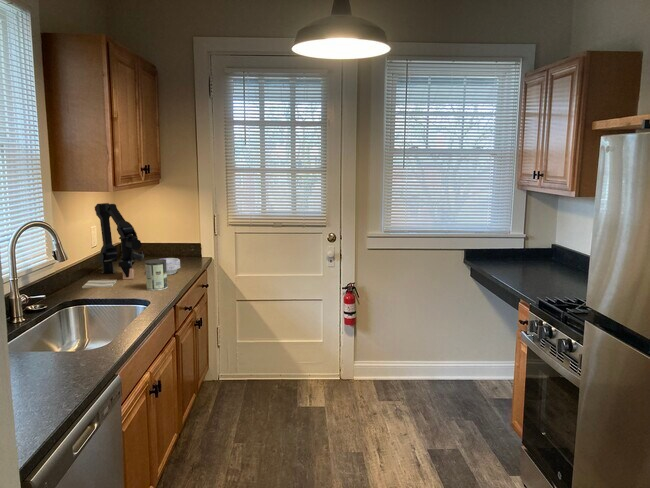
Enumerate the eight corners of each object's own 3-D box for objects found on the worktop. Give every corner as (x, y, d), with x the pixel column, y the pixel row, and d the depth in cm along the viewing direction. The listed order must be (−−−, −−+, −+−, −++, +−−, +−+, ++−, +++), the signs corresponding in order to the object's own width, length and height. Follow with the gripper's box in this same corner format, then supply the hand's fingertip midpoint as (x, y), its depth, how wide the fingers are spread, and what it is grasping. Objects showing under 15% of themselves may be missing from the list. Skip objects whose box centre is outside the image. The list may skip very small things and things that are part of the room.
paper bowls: (163, 269, 304) (163, 256, 303) (185, 271, 299) (185, 258, 298) (146, 275, 290) (146, 261, 289) (169, 277, 285) (169, 263, 284)
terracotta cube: (124, 277, 284) (124, 268, 284) (134, 276, 285) (133, 268, 285) (123, 279, 280) (122, 270, 279) (132, 278, 281) (132, 269, 280)
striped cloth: (89, 281, 274) (89, 280, 274) (117, 280, 277) (117, 279, 277) (82, 288, 261) (81, 286, 261) (111, 287, 263) (111, 285, 263)
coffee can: (158, 284, 269) (157, 258, 266) (172, 287, 263) (170, 260, 261) (141, 288, 260) (140, 261, 258) (155, 291, 255) (153, 263, 252)
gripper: (139, 250, 272) (141, 279, 275) (145, 244, 290) (146, 272, 293) (117, 251, 270) (119, 280, 273) (124, 245, 288) (125, 272, 291)
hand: (128, 276), depth 282 cm, fingers closed on terracotta cube, 5 cm apart
